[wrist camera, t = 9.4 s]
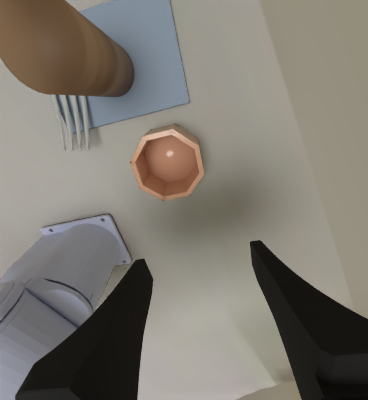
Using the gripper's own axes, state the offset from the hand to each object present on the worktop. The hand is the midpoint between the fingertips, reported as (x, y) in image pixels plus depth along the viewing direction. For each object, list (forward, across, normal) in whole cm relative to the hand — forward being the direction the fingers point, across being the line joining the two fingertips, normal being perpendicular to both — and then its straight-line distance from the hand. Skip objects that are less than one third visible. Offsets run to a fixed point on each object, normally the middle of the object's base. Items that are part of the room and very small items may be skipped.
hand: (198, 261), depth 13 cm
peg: (+10, +4, -13) cm, 17 cm away
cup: (+10, +2, -5) cm, 12 cm away
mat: (+10, +4, -13) cm, 18 cm away
